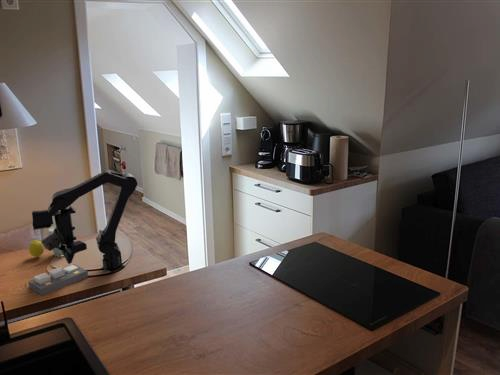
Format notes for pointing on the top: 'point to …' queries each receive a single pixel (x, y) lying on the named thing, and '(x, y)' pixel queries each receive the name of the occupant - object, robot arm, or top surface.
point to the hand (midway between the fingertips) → (69, 263)
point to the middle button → (56, 273)
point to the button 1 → (42, 278)
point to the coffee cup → (55, 250)
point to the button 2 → (70, 269)
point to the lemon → (36, 248)
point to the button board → (58, 281)
